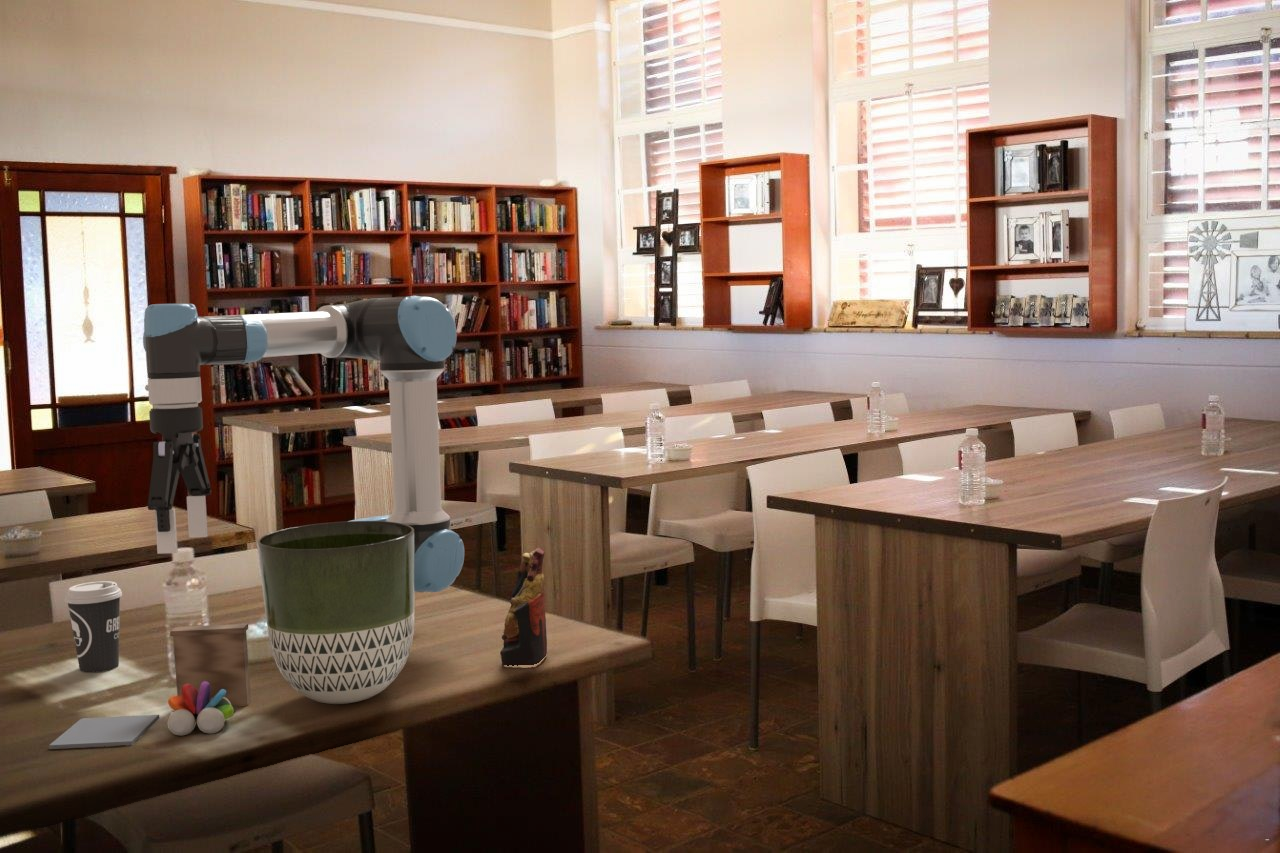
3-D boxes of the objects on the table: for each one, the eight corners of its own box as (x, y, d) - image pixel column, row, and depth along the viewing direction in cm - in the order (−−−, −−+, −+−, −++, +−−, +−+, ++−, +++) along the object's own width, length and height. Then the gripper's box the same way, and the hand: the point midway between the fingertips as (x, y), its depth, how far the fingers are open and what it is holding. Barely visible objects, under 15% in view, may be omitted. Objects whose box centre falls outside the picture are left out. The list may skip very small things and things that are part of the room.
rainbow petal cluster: (177, 721, 196) (173, 675, 195) (240, 717, 197) (237, 672, 196) (161, 739, 187) (157, 692, 187) (227, 735, 188) (224, 688, 187)
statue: (512, 652, 228) (508, 543, 226) (554, 654, 226) (550, 544, 224) (490, 671, 216) (486, 556, 214) (535, 673, 214) (531, 557, 213)
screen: (253, 700, 204) (248, 623, 203) (249, 705, 202) (243, 627, 200) (181, 704, 204) (175, 627, 202) (175, 709, 201) (170, 631, 200)
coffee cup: (106, 676, 221) (100, 592, 220) (58, 674, 223) (51, 591, 222) (138, 660, 231) (132, 580, 229) (92, 659, 233) (85, 579, 231)
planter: (294, 677, 217) (284, 522, 214) (435, 673, 216) (427, 518, 213) (246, 725, 192) (234, 551, 190) (404, 721, 191) (395, 547, 189)
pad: (159, 718, 197) (159, 714, 197) (132, 745, 185) (131, 741, 185) (81, 722, 196) (81, 718, 196) (49, 749, 185) (49, 745, 184)
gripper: (179, 401, 202) (186, 531, 204) (117, 412, 177) (127, 561, 179) (226, 400, 202) (233, 530, 204) (171, 411, 177) (179, 559, 179)
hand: (183, 545), depth 192 cm, fingers open, 13 cm apart
